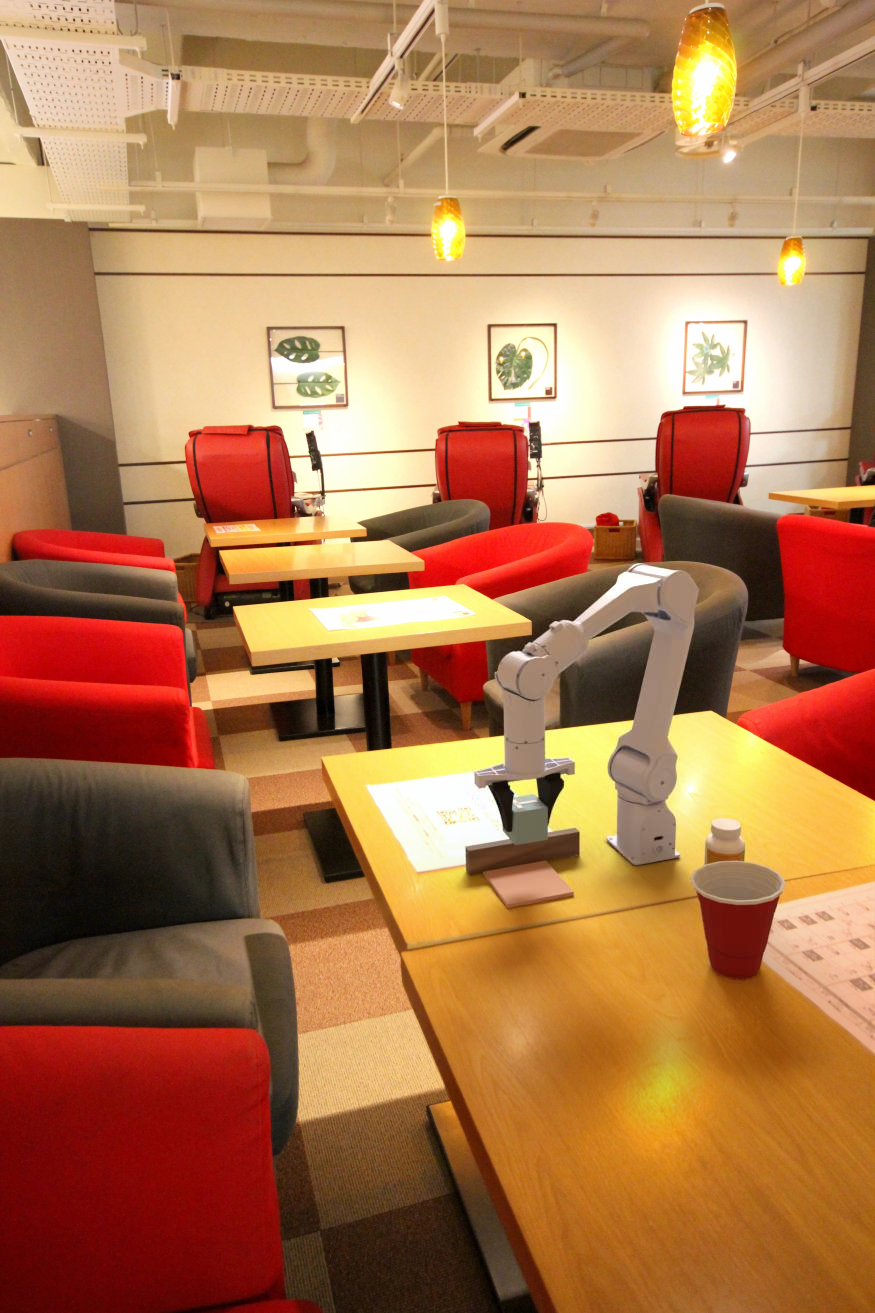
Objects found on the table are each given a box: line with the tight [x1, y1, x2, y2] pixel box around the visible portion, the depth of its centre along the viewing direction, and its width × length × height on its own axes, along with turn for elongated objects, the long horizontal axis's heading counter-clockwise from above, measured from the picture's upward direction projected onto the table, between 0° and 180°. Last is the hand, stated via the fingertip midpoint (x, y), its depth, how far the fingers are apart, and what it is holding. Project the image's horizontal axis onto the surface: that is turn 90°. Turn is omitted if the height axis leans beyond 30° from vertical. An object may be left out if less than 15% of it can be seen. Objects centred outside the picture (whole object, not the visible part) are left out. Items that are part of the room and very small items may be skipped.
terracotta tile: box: [483, 860, 575, 909], centre depth 132 cm, size 10×10×1 cm
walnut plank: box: [465, 827, 581, 876], centre depth 138 cm, size 2×18×4 cm, turn 107°
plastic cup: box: [689, 860, 787, 980], centre depth 110 cm, size 11×11×12 cm
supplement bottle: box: [703, 817, 746, 865], centre depth 128 cm, size 5×5×10 cm
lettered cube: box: [502, 793, 549, 845], centre depth 131 cm, size 5×5×5 cm
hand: (525, 826), depth 131 cm, fingers closed on lettered cube, 5 cm apart
